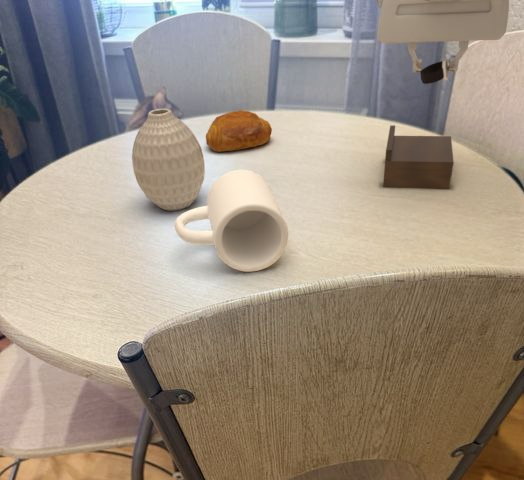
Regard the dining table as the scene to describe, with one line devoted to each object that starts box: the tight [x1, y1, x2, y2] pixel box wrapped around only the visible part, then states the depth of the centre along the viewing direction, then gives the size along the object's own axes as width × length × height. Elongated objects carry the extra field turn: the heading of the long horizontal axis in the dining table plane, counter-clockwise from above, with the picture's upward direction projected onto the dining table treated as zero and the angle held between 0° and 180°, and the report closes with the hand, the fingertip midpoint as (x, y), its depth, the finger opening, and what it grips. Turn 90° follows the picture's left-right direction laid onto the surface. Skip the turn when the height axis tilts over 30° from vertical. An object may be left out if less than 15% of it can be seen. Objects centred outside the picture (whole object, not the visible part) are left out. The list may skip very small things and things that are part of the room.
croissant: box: [205, 109, 273, 153], centre depth 124 cm, size 14×16×8 cm
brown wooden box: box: [382, 124, 454, 190], centre depth 103 cm, size 12×14×7 cm
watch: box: [420, 57, 450, 85], centre depth 91 cm, size 8×5×4 cm, turn 158°
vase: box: [131, 108, 206, 212], centre depth 96 cm, size 13×13×17 cm
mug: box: [174, 169, 289, 273], centre depth 82 cm, size 16×14×11 cm
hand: (434, 70), depth 91 cm, fingers closed on watch, 4 cm apart
